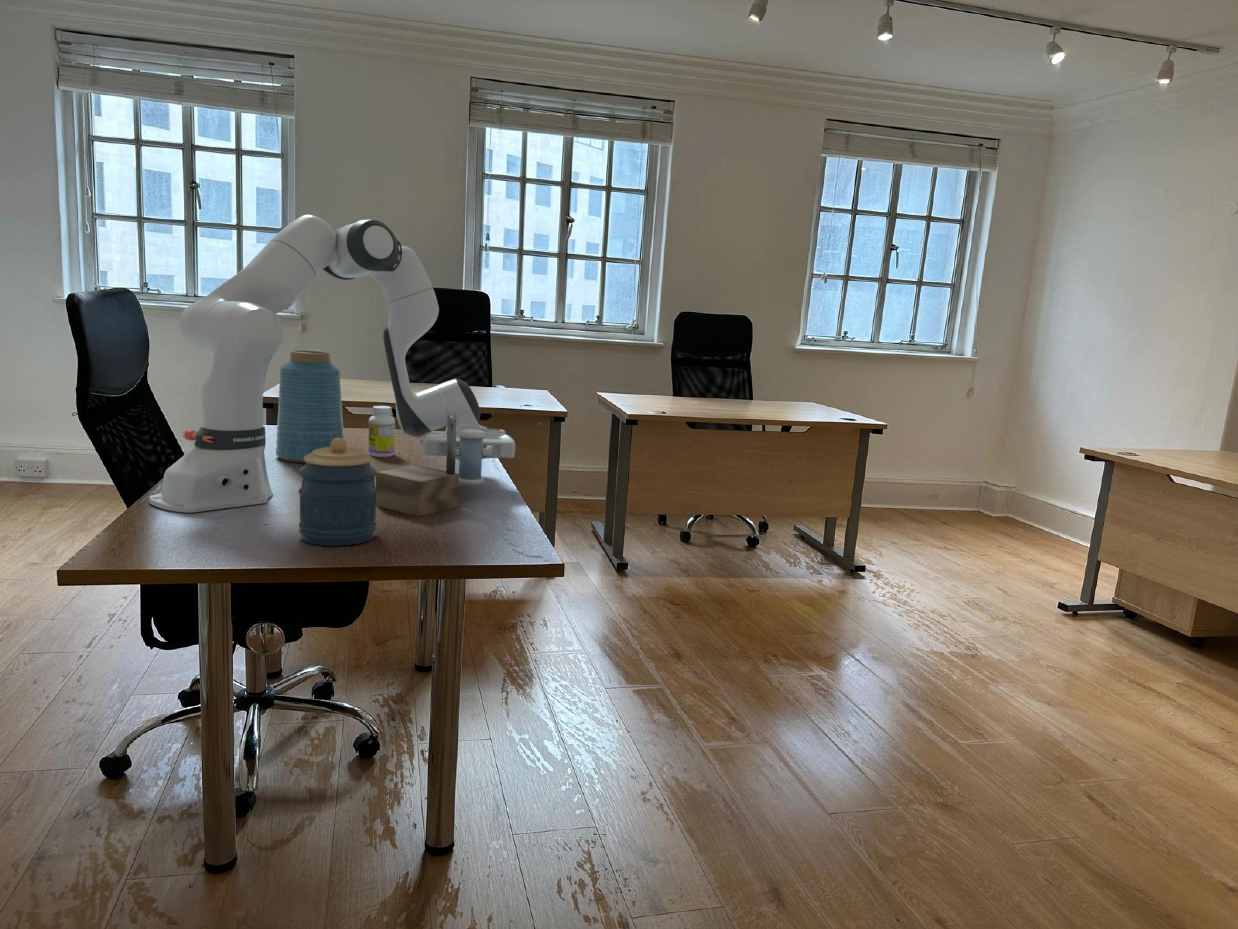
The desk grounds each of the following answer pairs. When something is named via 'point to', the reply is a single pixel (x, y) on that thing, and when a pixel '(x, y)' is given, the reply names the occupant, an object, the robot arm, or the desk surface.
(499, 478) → the desk surface
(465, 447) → the cord spool
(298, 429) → the vase
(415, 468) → the walnut shelf block
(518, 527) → the desk surface
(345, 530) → the canister
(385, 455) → the supplement bottle
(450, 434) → the hook post
